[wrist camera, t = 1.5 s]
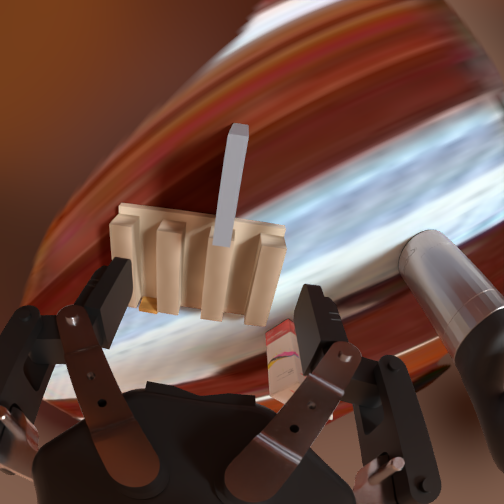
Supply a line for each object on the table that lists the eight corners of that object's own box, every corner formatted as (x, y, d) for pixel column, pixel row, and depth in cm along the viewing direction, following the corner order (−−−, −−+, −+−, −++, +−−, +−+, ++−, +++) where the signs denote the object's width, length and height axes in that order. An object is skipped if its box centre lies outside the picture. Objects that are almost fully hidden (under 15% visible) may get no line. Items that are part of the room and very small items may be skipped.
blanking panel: (248, 125, 29) (248, 136, 22) (233, 209, 34) (230, 247, 27) (233, 122, 29) (228, 133, 22) (220, 207, 34) (212, 245, 27)
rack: (284, 225, 35) (288, 241, 32) (262, 312, 42) (263, 331, 39) (121, 202, 33) (108, 216, 30) (126, 292, 40) (118, 309, 37)
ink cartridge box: (263, 333, 45) (268, 415, 32) (288, 316, 43) (301, 401, 30) (296, 357, 48) (307, 432, 35) (320, 343, 46) (337, 419, 34)
